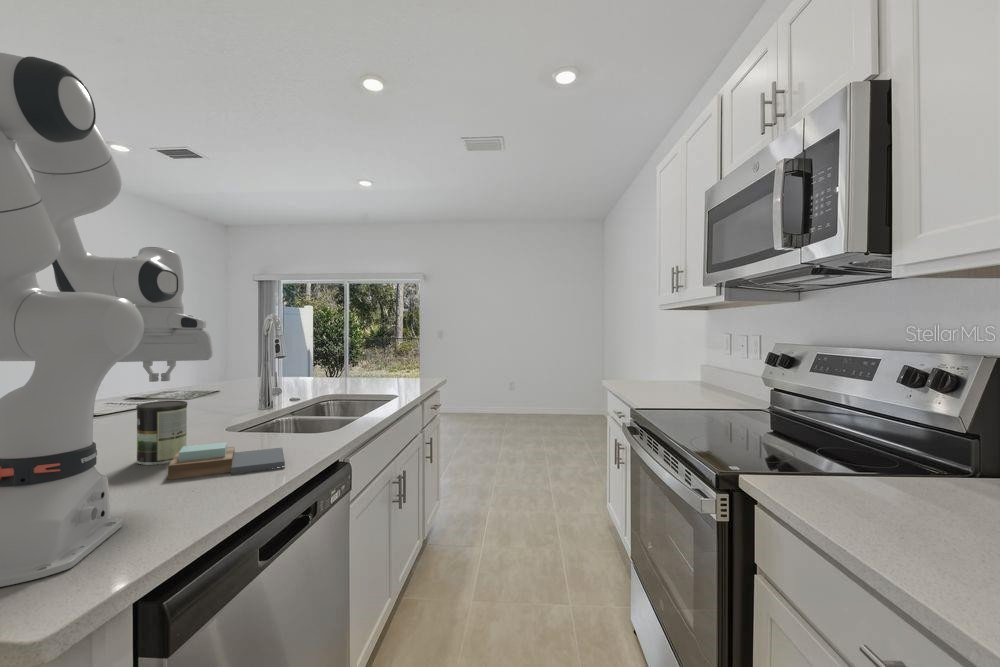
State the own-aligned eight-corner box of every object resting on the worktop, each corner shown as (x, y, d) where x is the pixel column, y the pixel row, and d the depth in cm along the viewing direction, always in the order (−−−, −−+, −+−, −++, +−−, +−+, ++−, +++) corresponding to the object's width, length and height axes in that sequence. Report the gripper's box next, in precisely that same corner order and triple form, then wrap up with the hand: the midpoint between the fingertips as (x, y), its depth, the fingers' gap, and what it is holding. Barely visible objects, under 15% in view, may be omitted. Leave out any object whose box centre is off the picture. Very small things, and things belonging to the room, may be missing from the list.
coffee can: (130, 467, 106) (130, 408, 106) (143, 456, 116) (143, 401, 115) (182, 462, 111) (182, 405, 110) (191, 451, 120) (191, 399, 120)
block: (225, 456, 106) (225, 447, 106) (178, 461, 102) (178, 452, 101) (226, 450, 111) (226, 442, 111) (182, 454, 107) (182, 446, 107)
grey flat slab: (284, 467, 107) (284, 461, 107) (231, 474, 102) (231, 467, 102) (282, 453, 120) (282, 447, 120) (234, 458, 114) (234, 452, 114)
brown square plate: (231, 471, 104) (231, 458, 104) (168, 479, 98) (168, 465, 98) (234, 458, 114) (234, 446, 114) (177, 464, 109) (177, 452, 109)
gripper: (95, 319, 94) (95, 385, 94) (210, 321, 104) (210, 380, 104) (105, 320, 100) (104, 381, 100) (213, 321, 109) (213, 377, 110)
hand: (159, 381), depth 102 cm, fingers closed
